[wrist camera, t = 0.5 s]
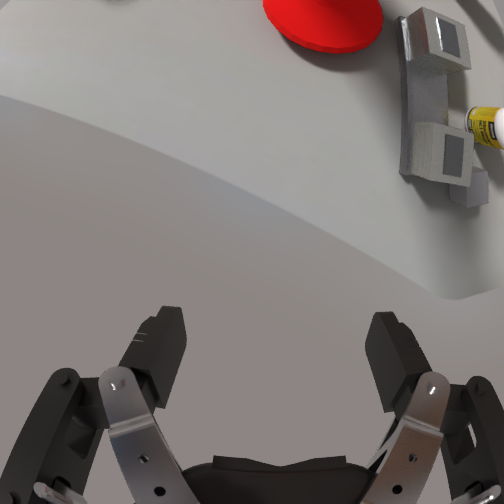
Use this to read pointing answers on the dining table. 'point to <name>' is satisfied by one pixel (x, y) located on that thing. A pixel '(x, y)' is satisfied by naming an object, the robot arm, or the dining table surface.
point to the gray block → (471, 190)
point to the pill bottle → (486, 125)
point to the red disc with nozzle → (327, 23)
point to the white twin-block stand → (432, 97)
